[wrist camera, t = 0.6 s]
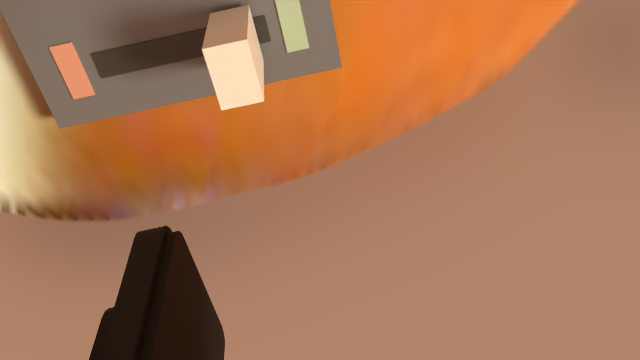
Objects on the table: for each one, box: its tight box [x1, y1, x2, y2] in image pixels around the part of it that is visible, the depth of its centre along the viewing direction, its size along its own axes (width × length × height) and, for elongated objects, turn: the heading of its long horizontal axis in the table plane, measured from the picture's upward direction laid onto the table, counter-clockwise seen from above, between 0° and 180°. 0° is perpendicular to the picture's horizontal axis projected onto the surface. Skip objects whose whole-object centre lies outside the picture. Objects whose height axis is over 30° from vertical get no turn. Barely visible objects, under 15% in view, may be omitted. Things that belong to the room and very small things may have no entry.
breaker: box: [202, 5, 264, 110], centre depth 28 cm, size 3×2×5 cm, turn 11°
